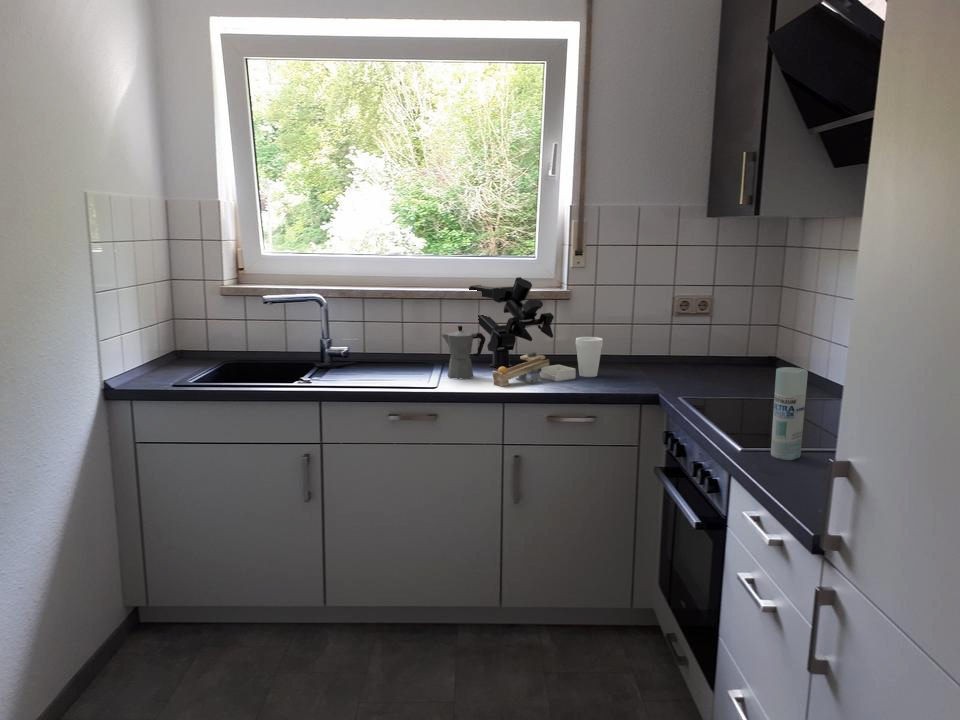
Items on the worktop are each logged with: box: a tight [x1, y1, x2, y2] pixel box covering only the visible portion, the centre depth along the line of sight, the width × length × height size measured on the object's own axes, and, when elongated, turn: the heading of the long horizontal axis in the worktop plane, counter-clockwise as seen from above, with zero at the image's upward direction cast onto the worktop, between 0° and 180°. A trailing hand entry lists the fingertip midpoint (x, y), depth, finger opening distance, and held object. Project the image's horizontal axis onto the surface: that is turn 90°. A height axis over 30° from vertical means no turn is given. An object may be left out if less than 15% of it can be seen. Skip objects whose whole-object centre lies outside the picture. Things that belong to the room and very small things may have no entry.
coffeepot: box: [441, 325, 486, 380], centre depth 252 cm, size 15×9×18 cm, turn 82°
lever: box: [492, 351, 551, 387], centre depth 248 cm, size 17×24×4 cm
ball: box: [497, 366, 508, 375], centre depth 240 cm, size 3×3×3 cm
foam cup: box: [575, 336, 604, 378], centre depth 255 cm, size 10×9×13 cm
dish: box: [539, 364, 577, 382], centre depth 252 cm, size 9×9×4 cm
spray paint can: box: [770, 366, 809, 461], centre depth 163 cm, size 6×6×20 cm
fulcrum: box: [515, 372, 543, 385], centre depth 246 cm, size 9×4×3 cm, turn 33°
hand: (542, 338), depth 251 cm, fingers open, 9 cm apart
